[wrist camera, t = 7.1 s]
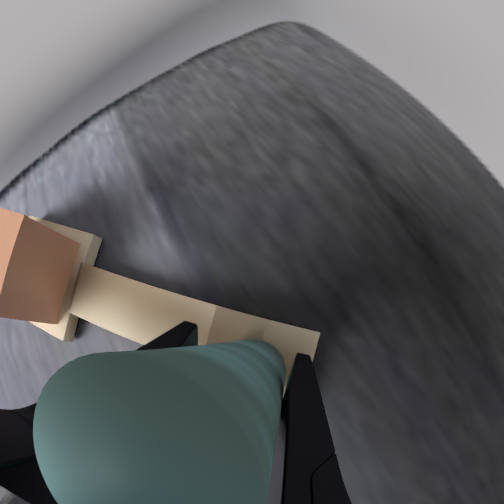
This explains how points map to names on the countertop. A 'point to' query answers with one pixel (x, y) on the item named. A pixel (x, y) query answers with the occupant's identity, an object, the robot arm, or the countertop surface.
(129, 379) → the pull strip
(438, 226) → the countertop surface
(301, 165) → the countertop surface
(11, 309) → the terracotta cube
